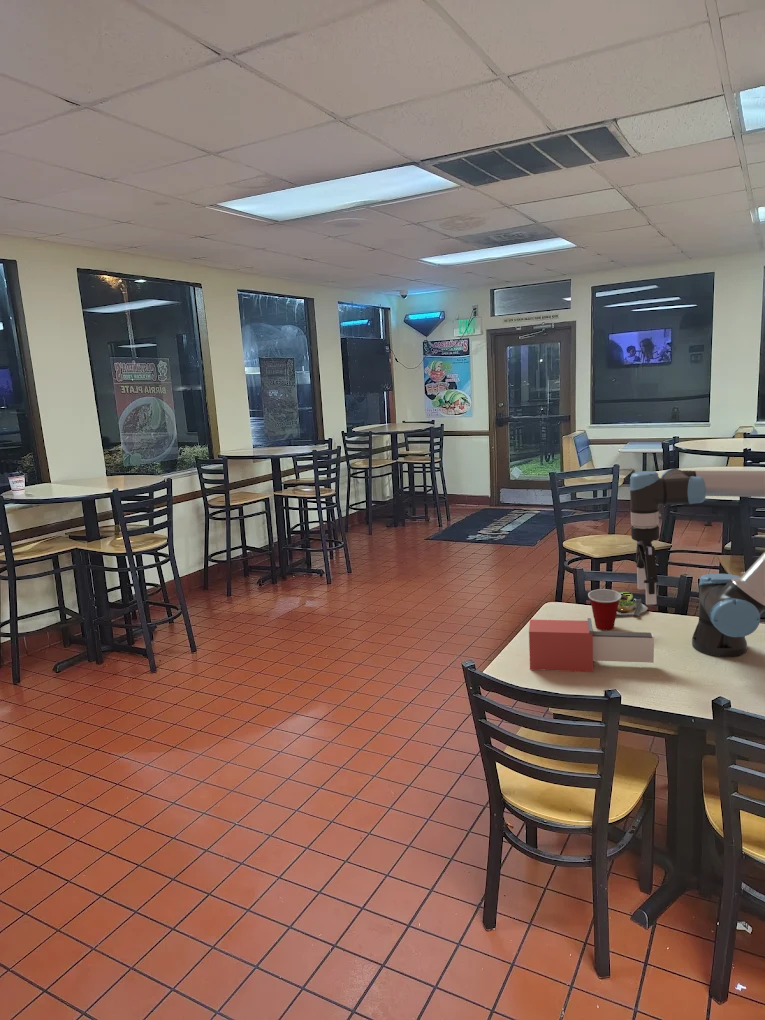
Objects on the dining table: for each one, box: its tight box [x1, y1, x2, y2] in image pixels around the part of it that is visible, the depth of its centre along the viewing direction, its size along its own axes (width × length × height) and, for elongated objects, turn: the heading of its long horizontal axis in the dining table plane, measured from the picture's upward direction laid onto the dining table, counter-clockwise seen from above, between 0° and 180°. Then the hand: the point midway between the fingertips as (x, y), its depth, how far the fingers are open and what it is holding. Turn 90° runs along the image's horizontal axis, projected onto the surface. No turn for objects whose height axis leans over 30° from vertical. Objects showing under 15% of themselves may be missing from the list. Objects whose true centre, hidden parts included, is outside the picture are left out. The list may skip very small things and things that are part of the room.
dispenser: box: [528, 617, 594, 673], centre depth 203 cm, size 18×10×13 cm, turn 76°
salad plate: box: [616, 591, 648, 618], centre depth 244 cm, size 19×18×5 cm
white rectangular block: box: [593, 630, 655, 664], centre depth 198 cm, size 18×3×8 cm, turn 76°
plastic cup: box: [587, 588, 621, 631], centre depth 228 cm, size 11×11×12 cm
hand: (646, 596), depth 197 cm, fingers open, 13 cm apart
